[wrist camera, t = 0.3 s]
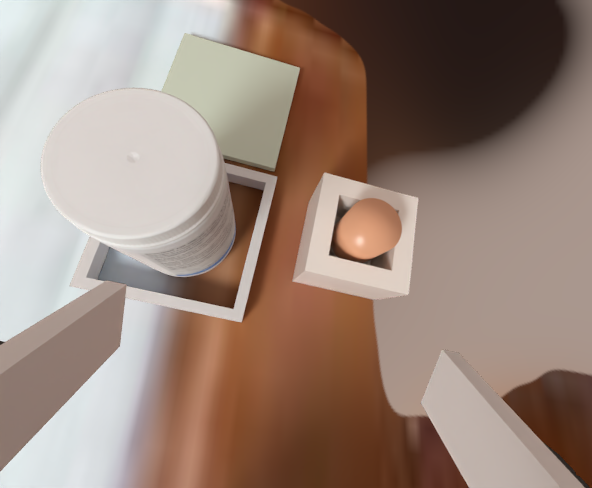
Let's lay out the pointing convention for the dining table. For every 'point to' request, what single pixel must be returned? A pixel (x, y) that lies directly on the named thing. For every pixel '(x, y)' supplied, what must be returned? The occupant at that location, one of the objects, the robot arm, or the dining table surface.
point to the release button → (366, 231)
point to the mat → (235, 97)
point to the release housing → (344, 273)
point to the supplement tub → (142, 179)
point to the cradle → (93, 264)
